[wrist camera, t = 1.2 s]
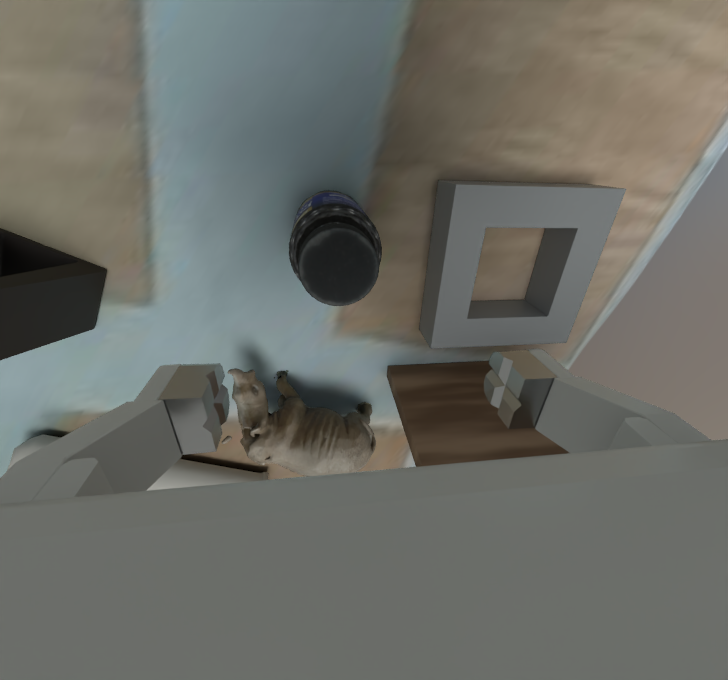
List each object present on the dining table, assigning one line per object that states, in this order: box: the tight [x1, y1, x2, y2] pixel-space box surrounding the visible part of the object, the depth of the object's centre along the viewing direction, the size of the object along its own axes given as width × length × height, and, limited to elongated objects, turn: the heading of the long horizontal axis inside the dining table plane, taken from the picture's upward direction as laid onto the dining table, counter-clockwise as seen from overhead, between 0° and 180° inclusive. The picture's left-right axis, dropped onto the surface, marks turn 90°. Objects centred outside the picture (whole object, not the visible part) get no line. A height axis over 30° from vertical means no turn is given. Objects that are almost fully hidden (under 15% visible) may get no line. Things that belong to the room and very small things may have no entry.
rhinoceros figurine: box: [222, 369, 376, 477], centre depth 34 cm, size 8×14×15 cm
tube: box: [7, 435, 269, 491], centre depth 37 cm, size 5×5×25 cm
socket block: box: [419, 180, 626, 349], centre depth 30 cm, size 14×14×4 cm
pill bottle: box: [289, 191, 382, 306], centre depth 24 cm, size 6×6×11 cm
